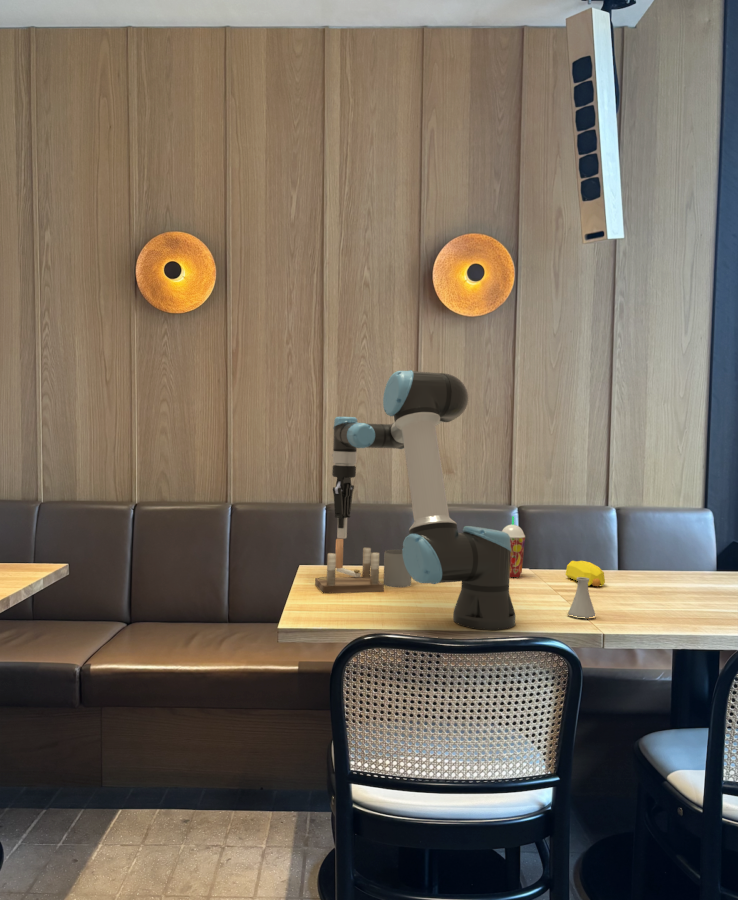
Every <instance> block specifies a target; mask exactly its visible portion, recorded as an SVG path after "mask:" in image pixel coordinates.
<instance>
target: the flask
mask: <svg viewBox="0 0 738 900" xmlns="http://www.w3.org/2000/svg"><path fill="white" fill-rule="evenodd" d="M577 581H578V582H577ZM577 581H576V582H577V587H576V591H575V595H574V597H573V601H572V603H571V605H570V608H569V610H568V612H567V615H568V614H569V615H573V616H577V617H585V618H589V617H593V616H595V614H596V612H595V609H594V606H593V602H592V600H591V596H590V592H589V591H590V590H589V586H588V582H589V578H585V577H577Z"/></svg>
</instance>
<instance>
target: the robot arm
mask: <svg viewBox="0 0 738 900" xmlns="http://www.w3.org/2000/svg"><path fill="white" fill-rule="evenodd" d="M385 385H386V386H385V388H384V392H383V399H382V401H383V402H382V404H383V405H382V407H383V410H384V412H385V414H386V415H387V416H390V417H393V419H394V422H392V423H391V424H390V423H389V424H388V423H365V422H358V418H357V417H355V416H336V417H335V418H334V421H333V422H334V423H333V446H332V447H333V448H332V452H333V453H332V454H331V457H332V464H334V465H333V466H332V473H331V474H332V477H334V478H336V483H335V487H332V493H333V500H334V501H333V503H334V505H333V506H334V518H336V519H337V528H336V529H337V530H336V533H337V534H336V537H337V538H336V539H347V538H348V537H347V536H348V534H347V533H348V519H349V518H351V510H352V500H353V495H354V494H353V493H354V489H355V486H354V485H352V478H356V475H357V466H356V464H357V454H358V453H357V450H358V449H398V450H404V456H405V457H404V458H405V463H406V470H407V478H408V486H409V493H410V494H409V495H410V502H411V508H412V517H413V523H412V525H411V526H410V527H409V529H408V532H409V534H408V535H407V536H405V538H404V540H403V542H402V546H403V547H402V549H401V550H402V554H403V560H404V564H405V567H406V569H407V571H408V573H409V575H410V576H411V579H413V580H414V581H415V582H417V583H420V584H431V585H436V584H441V583H443V584H444V583H459V582H461V587H460V588H461V589H460V592H459V595H458V598H457V600H456V603H455V605H454V607H453V608H454V609H453V617H452V620H453V622H454V623H456V624H457V625H460V626H463V627H466V628H472V629H476V630H488V631H489V630H491V631H494V630H495V631H496V630H497V631H498V630H506V629H507V630H508V629H511V628H513V627H515V626H516V612H515V609H514V605H513V602H512V601H513V600H512V598H511V594H510V552H511V544H510V536H509V535H508V534H507V533H505V532H502V530H497V529H492V528H486V527H478V526H471V525H465V526H464V527H463V529H462V530H461V531H462V532H459V531H458V525H457V522H456V521H454V520H453V519H452V518H451V517H450V513H449V506H448V501H447V500H448V499H447V493H446V486H445V480H444V473H443V468H442V467H443V465H442V461H441V454H440V447H439V441H438V433H437V428H436V427H437V426H439V425H440V424H442V423H450V422H452V421H453V420H456V419H457V418H459V417H460V416H462V414H463V413H464V412H465V410H466V409H467V406H468V403H469V394H468V390H467V388H466V386H465V384H464V382H462V381H461V379H460V378H458V377H456V376H454V375H452V374H450V373H446V372H445V373H443V372H441V373H440V372H428V371H427V372H426V371H414V370H412V369H411V370H397V371H395V372H394V373H392V374H391V375H390V377H389V379H388V380H387V382H386V384H385Z"/></svg>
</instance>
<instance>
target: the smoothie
mask: <svg viewBox="0 0 738 900" xmlns="http://www.w3.org/2000/svg"><path fill="white" fill-rule="evenodd" d="M501 531H502V532H505V533H507V534H508V535H509V536H510V544H511V552H510V577H518V578H520V577H519V576H521V575H522V572H523V563H524V562H523V561H524V555H525V554H524V552H525V551H524V550H525V544H526V543H525V542H526V541H525V540H526V535H525V533H524V531H523V529H522V528H521V527H520V526H519V525H517V524H515V516H514V515H513V516H511V524H507V525H505V526H504V527H503V529H502V530H501Z"/></svg>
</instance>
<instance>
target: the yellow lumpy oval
mask: <svg viewBox="0 0 738 900" xmlns="http://www.w3.org/2000/svg"><path fill="white" fill-rule="evenodd" d="M564 575H565V576H566V577H567V578H568V579H569V578H571V579H573V580H572V581H574V580H576V581H575V582H577V577H585V578H589V582H588V587H590V586H593V587H594V586H597V587H600V586H599V585H603V586H604V584H605V583H606V579H605V572H604V571H603V570H602V569H601V568H600V567H599V566H598V565H596V564H594V563H592V562H589V561H586V560H585V561H584V560H578V561H576V560H571V561H570V562H569V563H568V564H567V565H566V570H565V574H564ZM571 579H570V580H571Z"/></svg>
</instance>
